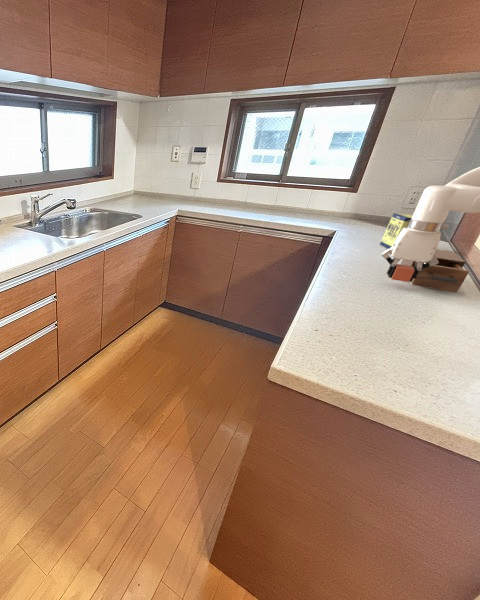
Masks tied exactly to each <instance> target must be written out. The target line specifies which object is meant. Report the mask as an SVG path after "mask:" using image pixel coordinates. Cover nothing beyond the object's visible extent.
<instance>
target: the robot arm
mask: <svg viewBox="0 0 480 600" xmlns="http://www.w3.org/2000/svg"><path fill="white" fill-rule="evenodd" d="M450 212H458V213H464V214H476V213H477V214H478V213H480V166H478V167H476V168H474V169H471V170H469V171H467V172H465V173H463V174H461V175H459V176H458V177H456V178H454V179H453V180H451V181H449V182H448V183H447V184H445V185H429V186H427V187H426V188H425V189H424V190H423V192H422V194H421V196H420V198H419V201H418V203H417V205H416V208H415V210H414V212H413V213H412V215H413V216H412V218H411V221H410V223H409V225H408V227H407V228H403V229H402V231H401V232H400V234H399V235H398V237H397V239H396V240H395V242H394V244H393V246H392V248H390V249H389V248H388V249H387V250H385V251H383V252H382V253H380V255H381V257H382V258H384V259H385V261H387V263H388V265H389V267H388V269H387V271H386V275H387V277H388V278H390V279H391V278H392V276H393V274H394V272H395V270H396V264H399V262H400V261H402V260H410V261H416V264H415V267H414V269H415V271H414V273H413V275H412V277H411V279H410V281H409V282H412V281H413V279H415V278H416V276H417V274H418V272H419V271H420V270H422V269H424V268H427V267H429V266H432V265H436V264H438V263H439V262H438V260H437V258H436V255H435V252H436V249H437V248H438V246H439V243H440V240H441V236H442V232H441V230H447V229H448V228H449V226H450V225H449V224H446V223H445V222H446V219H447V217H448V215H449V213H450ZM444 221H445V222H444ZM443 222H444V223H443ZM439 231H440V232H439ZM437 250H438V249H437ZM423 262H425V263H423Z"/></svg>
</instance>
